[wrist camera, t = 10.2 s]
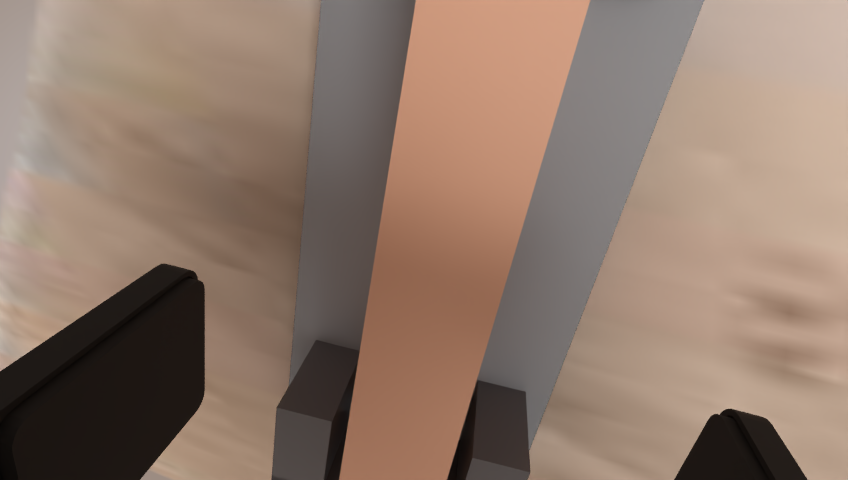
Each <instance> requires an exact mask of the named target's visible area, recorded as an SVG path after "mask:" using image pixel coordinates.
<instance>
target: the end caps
mask: <svg viewBox="0 0 848 480" xmlns="http://www.w3.org/2000/svg"><path fill="white" fill-rule="evenodd" d="M359 353H360V351H359V350H355V349H350V348H346V347H342V346H338V345H334V344H330V343H326V342H322V341H318V340H316V341H315V342H314V344H313V346H312V348H311V349H310V351H309V353H308V355H307V356H306V358H305V360H304V361H303V363H302V365H301V367H300V368H299V370H298V372H297V374H296V375H295V377H294V379H293V380H292V382H291V384H290V386H289V387H288V389H287V391H286V393H285V394H284V396H283V398H282V399H281V401H280V403H279V405H278V406H277V411H276V425H275V439H274V453H273V467H272V480H339V477H340V471H341V465H342V459H343V452H344V446H345V440H346V434H347V427H348V421H349V415H350V409H351V402H352V396H353V390H354V384H355V377H356V371H357V365H358V359H359ZM529 474H530V460H529V441H528V423H527V405H526V392H525V391H521V390H516V389H512V388H508V387H504V386H500V385H496V384H492V383H488V382H484V381H480V380H478V383H477V386H476V389H475V393H474V396H473V399H472V403H471V406H470V409H469V413H468V416H467V419H466V423H465V426H464V430H463V433H462V436H461V440H459V441H458V444H457V448H456V451H455V454H454V458H453V461H452V464H451V468H450V471H449V475H448V478H447V480H527V479H528V477H529Z"/></svg>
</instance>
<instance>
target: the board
mask: <svg viewBox="0 0 848 480" xmlns="http://www.w3.org/2000/svg"><path fill="white" fill-rule="evenodd" d="M703 2H704V0H590V3H589V6H588V10H587V13H586V16H585V20H584V23H583V26H582V30H581V33H580V36H579V40H578V43H577V46H576V50H575V53H574V56H573V60H572V63H571V66H570V70H569V73H568V76H567V80H566V83H565V86H564V90H563V93H562V97H561V100H560V103H559V107H558V110H557V113H556V117H555V120H554V123H553V127H552V130H551V133H550V137H549V140H548V143H547V147H546V150H545V153H544V157H543V160H542V163H541V167H540V170H539V173H538V177H537V180H536V183H535V187H534V190H533V194H532V197H531V200H530V204H529V207H528V210H527V214H526V217H525V220H524V224H523V227H522V230H521V234H520V237H519V240H518V244H517V247H516V250H515V254H514V257H513V260H512V264H511V267H510V270H509V274H508V277H507V281H506V284H505V287H504V291H503V294H502V297H501V301H500V304H499V307H498V311H497V314H496V317H495V321H494V324H493V327H492V331H491V334H490V337H489V341H488V344H487V347H486V351H485V354H484V357H483V361H482V364H481V367H480V371H479V374H478V378H477V381H476V384H475V388H474V391H473V394H472V398H471V401H470V404H469V408H468V411H467V414H466V418H465V421H464V424H463V428H462V431H461V434H460V438H459V440H461V436H462V433H463V430H464V426H465V423H466V419H467V416H468V413H469V409H470V406H471V403H472V399H473V396H474V393H475V389H476V386H477V383H478V380H480V381H484V382H488V383H492V384H496V385H500V386H504V387H508V388H512V389H516V390H521V391H525V392H526V405H527V423H528V441H529V450H530V447H531V445H532V442H533V440H534V437H535V434H536V432H537V429H538V427H539V424H540V422H541V419H542V416H543V414H544V411H545V409H546V406H547V404H548V401H549V398H550V396H551V393H552V391H553V388H554V386H555V383H556V380H557V378H558V375H559V373H560V370H561V367H562V365H563V362H564V360H565V357H566V355H567V352H568V349H569V347H570V344H571V342H572V339H573V337H574V334H575V331H576V329H577V326H578V324H579V321H580V319H581V316H582V313H583V311H584V308H585V306H586V303H587V301H588V298H589V295H590V293H591V290H592V288H593V285H594V282H595V280H596V277H597V275H598V272H599V270H600V267H601V264H602V262H603V259H604V257H605V254H606V252H607V249H608V246H609V244H610V241H611V239H612V236H613V234H614V231H615V228H616V226H617V223H618V221H619V218H620V216H621V213H622V210H623V208H624V205H625V203H626V200H627V197H628V195H629V192H630V190H631V187H632V185H633V182H634V179H635V177H636V174H637V172H638V169H639V167H640V164H641V161H642V159H643V156H644V154H645V151H646V149H647V146H648V143H649V141H650V138H651V136H652V133H653V131H654V128H655V125H656V123H657V120H658V118H659V115H660V112H661V110H662V107H663V105H664V102H665V100H666V97H667V94H668V92H669V89H670V87H671V84H672V82H673V79H674V76H675V74H676V71H677V69H678V66H679V64H680V61H681V58H682V56H683V53H684V51H685V48H686V46H687V43H688V40H689V38H690V35H691V33H692V30H693V28H694V25H695V22H696V20H697V17H698V15H699V12H700V9H701V7H702V4H703ZM415 3H416V0H321V8H320V20H319V32H318V44H317V56H316V68H315V80H314V92H313V104H312V116H311V128H310V140H309V152H308V164H307V176H306V188H305V200H304V212H303V224H302V236H301V247H300V259H299V271H298V283H297V295H296V307H295V319H294V331H293V343H292V355H291V367H290V379H289V386H290V384H291V382H292V380H293V379H294V377H295V375H296V374H297V372H298V370H299V368H300V367H301V365H302V363H303V361H304V360H305V358H306V356H307V355H308V353H309V351H310V349H311V348H312V346H313V344H314V342H315V341H316V340H318V341H322V342H326V343H330V344H334V345H338V346H342V347H346V348H350V349H355V350H359V351H360V346H361V340H362V334H363V328H364V321H365V315H366V309H367V303H368V296H369V290H370V284H371V278H372V271H373V265H374V259H375V253H376V246H377V240H378V234H379V228H380V221H381V215H382V209H383V203H384V196H385V190H386V184H387V178H388V171H389V165H390V159H391V153H392V146H393V140H394V134H395V128H396V121H397V115H398V109H399V103H400V96H401V90H402V84H403V78H404V71H405V65H406V59H407V53H408V46H409V40H410V34H411V28H412V21H413V15H414V9H415Z"/></svg>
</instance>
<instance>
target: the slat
mask: <svg viewBox="0 0 848 480" xmlns="http://www.w3.org/2000/svg"><path fill="white" fill-rule="evenodd" d="M589 3H590V0H416V3H415V9H414V15H413V21H412V28H411V34H410V40H409V46H408V53H407V59H406V65H405V71H404V78H403V84H402V90H401V96H400V103H399V109H398V115H397V121H396V128H395V134H394V140H393V146H392V153H391V159H390V165H389V171H388V178H387V184H386V190H385V196H384V203H383V209H382V215H381V221H380V228H379V234H378V240H377V246H376V253H375V259H374V265H373V271H372V278H371V284H370V290H369V296H368V303H367V309H366V315H365V321H364V328H363V334H362V340H361V346H360V353H359V359H358V365H357V371H356V377H355V384H354V390H353V396H352V402H351V409H350V415H349V421H348V427H347V434H346V440H345V446H344V452H343V459H342V465H341V471H340V477H339V480H447V478H448V475H449V471H450V468H451V464H452V461H453V458H454V454H455V451H456V448H457V444H458V441H459V438H460V434H461V431H462V428H463V424H464V421H465V418H466V414H467V411H468V408H469V404H470V401H471V398H472V394H473V391H474V388H475V384H476V381H477V378H478V374H479V371H480V367H481V364H482V361H483V357H484V354H485V351H486V347H487V344H488V341H489V337H490V334H491V331H492V327H493V324H494V321H495V317H496V314H497V311H498V307H499V304H500V301H501V297H502V294H503V291H504V287H505V284H506V281H507V277H508V274H509V270H510V267H511V264H512V260H513V257H514V254H515V250H516V247H517V244H518V240H519V237H520V234H521V230H522V227H523V224H524V220H525V217H526V214H527V210H528V207H529V204H530V200H531V197H532V194H533V190H534V187H535V183H536V180H537V177H538V173H539V170H540V167H541V163H542V160H543V157H544V153H545V150H546V147H547V143H548V140H549V137H550V133H551V130H552V127H553V123H554V120H555V117H556V113H557V110H558V107H559V103H560V100H561V97H562V93H563V90H564V86H565V83H566V80H567V76H568V73H569V70H570V66H571V63H572V60H573V56H574V53H575V50H576V46H577V43H578V40H579V36H580V33H581V30H582V26H583V23H584V20H585V16H586V13H587V10H588V6H589Z"/></svg>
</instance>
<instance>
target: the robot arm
mask: <svg viewBox="0 0 848 480" xmlns="http://www.w3.org/2000/svg"><path fill="white" fill-rule="evenodd" d="M204 391H205V289H204V284H203V282H201V281H199V280H198V278H197V275H196V273H195V272H194V271H191V270H187V269H184V268H180V267H176V266H172V265H168V264H161V265H158V266H157V267H155V268H154V269H152V270H151V271H149V272H148V273H146V274H145V275H143V276H142V277H140V278H139V279H137V280H136V281H134V282H133V283H131V284H130V285H128V286H127V287H125V288H124V289H122V290H121V291H119V292H118V293H116V294H115V295H113V296H112V297H110V298H109V299H107V300H106V301H104V302H103V303H101V304H100V305H98V306H97V307H95V308H94V309H92V310H91V311H90V312H88V313H87V314H85V315H84V316H82V317H81V318H79V319H78V320H76V321H75V322H73V323H72V324H70V325H69V326H67V327H66V328H64V329H63V330H61V331H60V332H58V333H57V334H55V335H54V336H52V337H51V338H49V339H48V340H46V341H45V342H43V343H42V344H40V345H39V346H37V347H36V348H34V349H33V350H31V351H30V352H28V353H27V354H25V355H24V356H22V357H21V358H19V359H18V360H17V361H15V362H14V363H12V364H11V365H9V366H8V367H6V368H5V369H3V370H2V371H0V480H140V479H141V478H142V477H143V475H144V474H145V473H146V472H147V470H148V469H149V468H150V467H151V466H152V464H153V463H154V462H155V461H156V460H157V458H158V457H159V456H160V455H161V454H162V452H163V451H164V450H165V449H166V447H167V446H168V445H169V444H170V443H171V441H172V440H173V439H174V438H175V437H176V435H177V434H178V433H179V432H180V431H181V429H182V428H183V427H184V426H185V424H186V423H187V422H188V421H189V420H190V418H191V417H192V416H193V415H194V414H195V412H196V411H197V410H198V408H199V406H200V405H201V402H202V400H203V397H204ZM674 480H807V478H806V477H805V475H804V473H803V472H802V470H801V469H800V467H799V466H798V464H797V463H796V461H795V460H794V458H793V456H792V455H791V453H790V452H789V450H788V449H787V447H786V446H785V444H784V443H783V441H782V439H781V438H780V436H779V435H778V433H777V432H776V430H775V429H774V427H773V425H772V424H771V423H770V422H769V421H768V420H767V419H766V418H763V417H760V416H757V415H753V414H749V413H745V412H741V411H737V410H733V409H726V410H724V411H723V412H722V413H721V414H720V415H718V414H714V415H712V416H711V417H710V418H709V420H708V421H707V423H706V425H705V427H704V428H703V430H702V432H701V434H700V435H699V437H698V439H697V441H696V442H695V444H694V446H693V448H692V449H691V451H690V453H689V455H688V456H687V458H686V460H685V462H684V463H683V465H682V467H681V469H680V471H679V472H678V474H677V476H676V478H675V479H674Z"/></svg>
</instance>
